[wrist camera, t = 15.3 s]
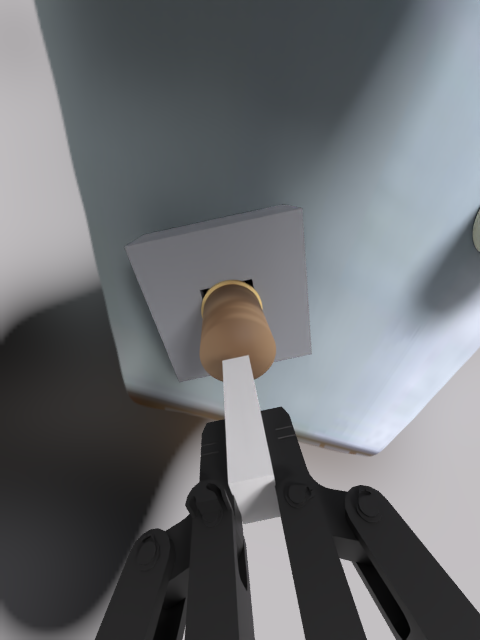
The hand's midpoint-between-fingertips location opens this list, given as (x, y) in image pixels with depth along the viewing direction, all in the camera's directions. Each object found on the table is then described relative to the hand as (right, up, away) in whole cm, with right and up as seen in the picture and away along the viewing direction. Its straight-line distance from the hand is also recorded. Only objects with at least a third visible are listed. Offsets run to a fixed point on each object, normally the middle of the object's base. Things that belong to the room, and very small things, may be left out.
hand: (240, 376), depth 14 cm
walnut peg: (-1, +7, +13) cm, 15 cm away
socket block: (-1, +7, +13) cm, 15 cm away
